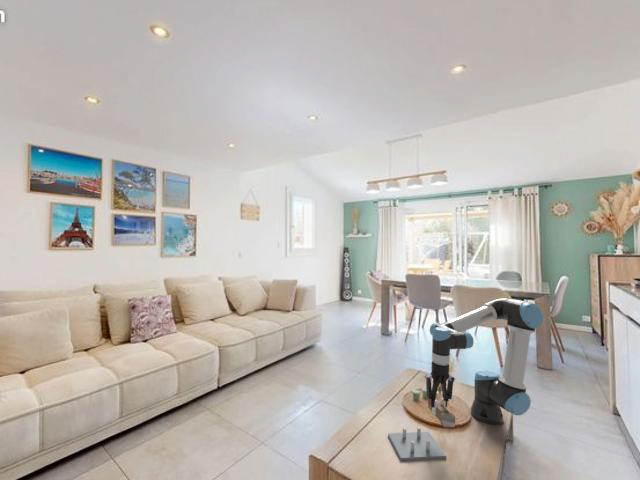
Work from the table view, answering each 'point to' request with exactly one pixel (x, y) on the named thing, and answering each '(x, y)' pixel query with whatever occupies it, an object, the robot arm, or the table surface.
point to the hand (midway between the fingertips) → (438, 413)
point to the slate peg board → (416, 446)
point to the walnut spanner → (443, 414)
